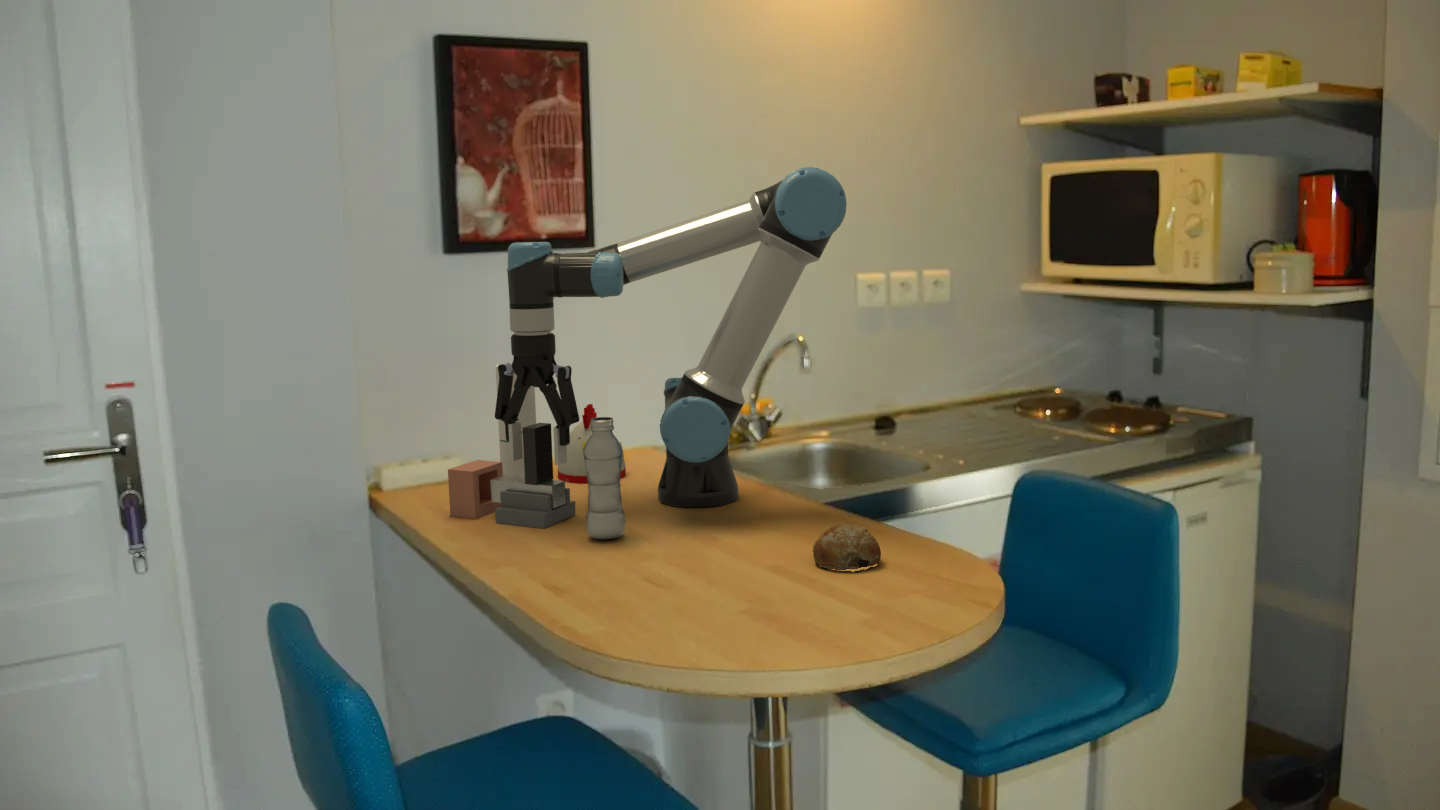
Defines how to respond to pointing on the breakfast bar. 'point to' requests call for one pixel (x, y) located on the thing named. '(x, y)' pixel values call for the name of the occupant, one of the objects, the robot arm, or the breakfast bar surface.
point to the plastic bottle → (604, 481)
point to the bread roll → (846, 548)
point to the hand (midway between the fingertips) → (538, 461)
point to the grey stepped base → (532, 509)
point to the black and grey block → (534, 468)
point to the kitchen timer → (580, 451)
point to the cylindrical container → (526, 418)
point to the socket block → (473, 488)
